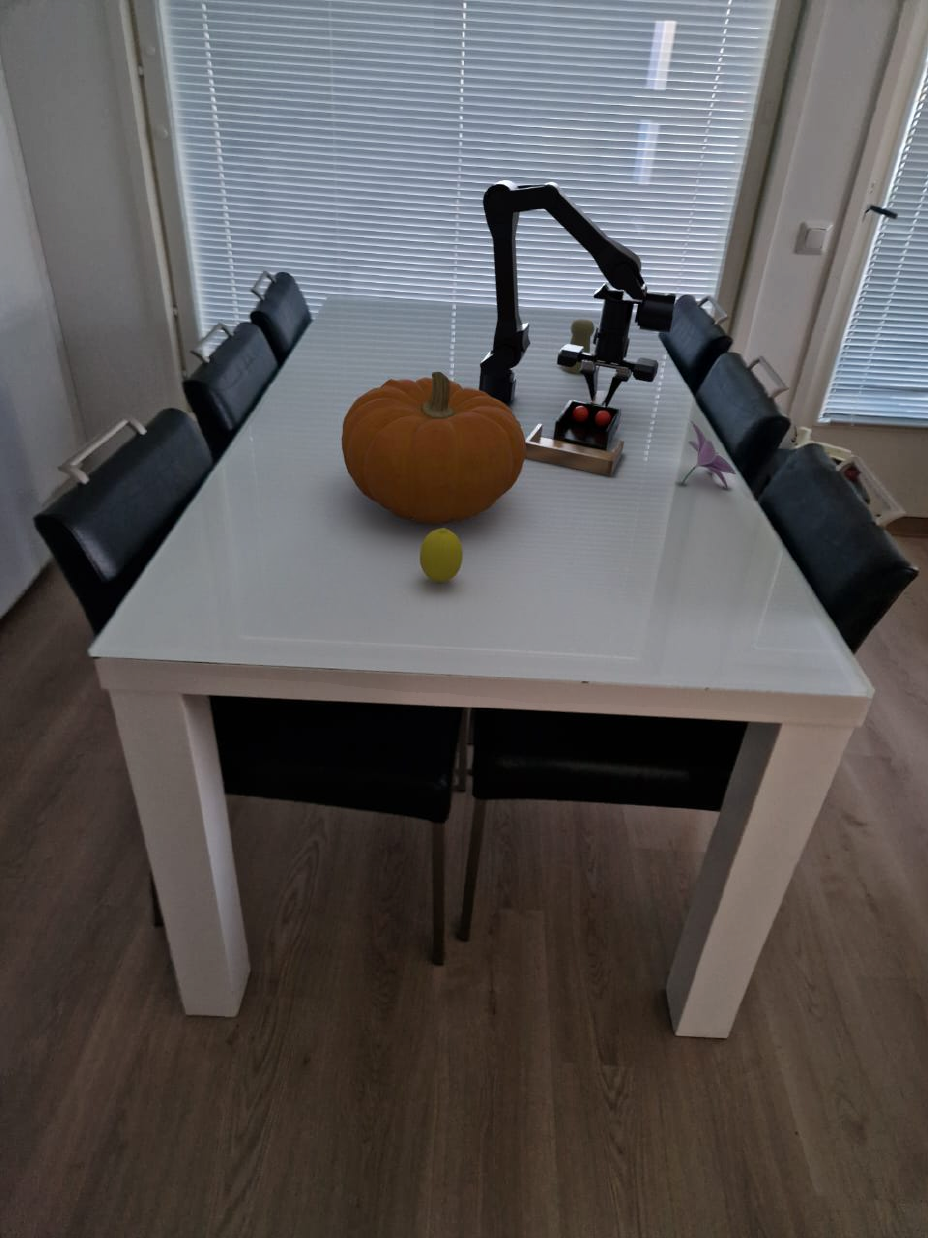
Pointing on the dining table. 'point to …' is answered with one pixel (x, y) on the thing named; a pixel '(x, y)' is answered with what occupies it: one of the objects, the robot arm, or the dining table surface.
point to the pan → (587, 423)
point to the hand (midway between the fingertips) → (599, 405)
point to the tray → (571, 454)
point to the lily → (709, 457)
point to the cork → (580, 339)
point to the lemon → (441, 555)
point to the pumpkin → (432, 449)
